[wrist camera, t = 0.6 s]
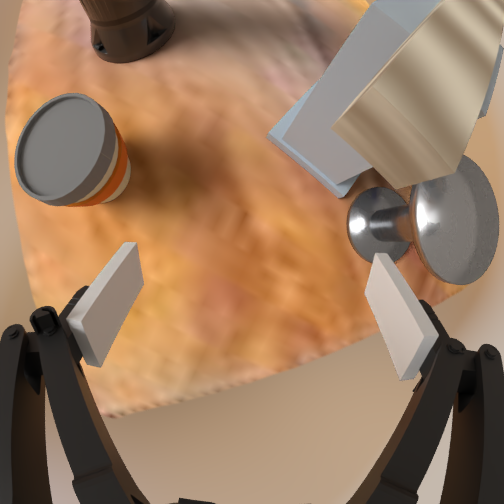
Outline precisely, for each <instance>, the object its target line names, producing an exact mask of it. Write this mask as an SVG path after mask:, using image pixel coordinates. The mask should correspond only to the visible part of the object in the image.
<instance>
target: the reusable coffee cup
mask: <svg viewBox="0 0 504 504" xmlns="http://www.w3.org/2000/svg"><path fill="white" fill-rule="evenodd" d="M15 172H16V177H17V179H18V182H19V184H20V186H21V187H22V189H23V190H24V191H25V192H26V193H27V194H28V195H29V196H31V197H33V198H35V199H37V200H39V201H42V202H44V203H46V204H48V205H53V206H68V207H80V206H93V205H96V204H99V203H106V202H109V201H111V200H113V199H115V198H116V197H118V196H119V195H120V194H121V193H122V192H123V191H124V189H125V188H126V186H127V184H128V182H129V179H130V174H131V165H130V161H129V158H128V156H127V149H126V146H125V143H124V141H123V139H122V137H121V135H120V133H119V131H118V129H117V127H116V126H115V124H114V123H113V120H112V118H111V117H110V115H109V113H108V112H107V111H106V110H105V109H104V108H103V107H102V106H101V105H99V104H98V103H97V102H95V101H94V100H93V99H92V98H90V97H88V96H86V95H83V94H79V93H68V94H64V95H60V96H57V97H55V98H53V99H51V100H49V101H48V102H46V103H45V104H43V105H42V106H41V107H40V108H39V109H38V110H37V111H36V112H35V113H34V114H33V115H32V116H31V118H30V119H29V120H28V122H27V123H26V125H25V127H24V128H23V130H22V132H21V135H20V137H19V140H18V143H17V146H16V151H15Z"/></svg>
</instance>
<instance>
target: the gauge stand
mask: <svg viewBox="0 0 504 504" xmlns="http://www.w3.org/2000/svg"><path fill="white" fill-rule="evenodd" d="M440 1H441V0H376V1H374V2H373V3H372V4H371V5H370V7H369V8H368V9H367V11H366V12H365V14H364V15H363V17H362V18H361V19H360V21H359V22H358V24H357V25H356V27H355V28H354V29H353V31H352V32H351V34H350V35H349V37H348V38H347V40H346V41H345V43H344V44H343V46H342V47H341V48H340V50H339V51H338V53H337V54H336V56H335V57H334V59H333V60H332V62H331V63H330V65H329V66H328V68H327V69H326V71H325V72H324V74H323V75H322V77H321V78H320V80H318V81H317V82H316V83H315V84H314V85H313V86H312V87H311V88H310V89H309V90H308V91H307V92H306V93H305V94H304V95H303V96H302V97H301V98H300V99H299V100H298V101H297V103H296V104H295V105H294V106H293V107H292V108H291V109H290V110H289V111H288V112H287V113H286V114H285V115H284V116H283V117H282V118H281V120H280V121H279V122H278V123H277V124H276V125H275V126H274V127H273V128H272V129H271V130H270V132H269V133H268V134H267V137H266V138H267V139H268V140H270V141H271V142H272V143H273V144H275V145H276V146H277V147H279V148H280V149H281V150H282V151H284V152H285V153H286V154H287V155H288V156H290V157H291V158H292V159H293V160H295V161H296V162H297V163H298V164H299V165H301V166H302V167H303V168H304V169H305V170H307V171H308V172H309V173H310V174H311V175H312V176H314V177H315V178H316V179H317V180H318V181H319V182H321V183H322V184H323V185H324V186H325V187H326V188H327V189H329V190H330V191H331V192H332V193H333V194H334V195H335V196H336V197H337V198H342V197H344V196H345V195H346V193H347V192H348V190H349V189H350V188H351V186H352V185H353V184H354V182H355V181H356V179H357V178H358V177H359V175H360V174H361V172H364V171H366V170H368V169H370V168H372V167H373V166H372V165H370V164H369V163H368V162H367V161H366V160H365V159H364V158H363V157H362V156H361V155H360V154H359V153H358V152H357V151H356V150H354V149H353V148H352V147H351V146H350V145H349V144H348V143H347V142H346V141H344V140H343V139H342V138H341V137H340V136H339V135H338V134H336V133H335V132H334V131H333V130H332V129H331V127H332V125H333V124H334V123H335V122H336V121H337V120H338V118H339V117H340V116H341V115H342V114H343V112H344V111H345V110H346V109H347V108H348V106H349V105H350V104H351V103H352V102H353V101H354V99H355V98H356V97H357V96H358V95H359V93H360V92H361V91H362V90H363V89H364V88H365V86H366V85H367V84H368V83H369V82H370V81H371V79H372V78H373V77H374V76H375V75H376V74H377V72H378V71H379V70H380V69H381V68H382V67H383V65H384V64H385V63H386V62H387V61H388V60H389V58H390V57H391V56H392V55H393V54H394V53H395V52H396V50H397V49H398V48H399V47H400V46H401V45H402V43H403V42H404V41H405V40H406V39H407V38H408V37H409V35H410V34H411V33H412V32H413V31H414V30H415V29H416V28H417V26H418V25H419V24H420V23H421V22H422V21H423V20H424V19H425V17H426V16H427V15H428V14H429V13H430V12H431V11H432V10H433V8H434V7H435V6H436V5H437V4H438V3H439V2H440ZM503 49H504V48H503V47H502V46H501V45H499V50H498V54H497V58H496V62H495V65H494V69H493V73H492V76H491V79H490V83H489V86H488V89H487V92H486V95H485V98H484V101H483V104H482V107H481V110H480V113H479V116H478V118H477V119H479V118H481V117H484V116H486V113H487V110H488V107H489V104H490V100H491V97H492V93H493V90H494V87H495V83H496V79H497V75H498V71H499V67H500V63H501V59H502V54H503Z"/></svg>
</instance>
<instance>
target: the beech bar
mask: <svg viewBox="0 0 504 504" xmlns="http://www.w3.org/2000/svg"><path fill="white" fill-rule="evenodd" d="M503 26H504V0H441V1H440V2H439V3H438V4H437V5H436V6H435V7H434V8H433V10H432V11H431V12H430V13H429V14H428V15H427V16H426V17H425V19H424V20H423V21H422V22H421V23H420V24H419V25H418V26H417V28H416V29H415V30H414V31H413V32H412V33H411V34H410V35H409V37H408V38H407V39H406V40H405V41H404V42H403V43H402V45H401V46H400V47H399V48H398V49H397V50H396V52H395V53H394V54H393V55H392V56H391V57H390V58H389V60H388V61H387V62H386V63H385V64H384V65H383V67H382V68H381V69H380V70H379V71H378V72H377V74H376V75H375V76H374V77H373V78H372V79H371V81H370V82H369V83H368V84H367V85H366V86H365V88H364V89H363V90H362V91H361V92H360V93H359V95H358V96H357V97H356V98H355V99H354V101H353V102H352V103H351V104H350V105H349V106H348V108H347V109H346V110H345V111H344V112H343V114H342V115H341V116H340V117H339V118H338V120H337V121H336V122H335V123H334V124H333V125H332V127H331V129H332V130H333V131H334V132H335V133H336V134H338V135H339V136H340V137H341V138H342V139H343V140H344V141H346V142H347V143H348V144H349V145H350V146H351V147H352V148H353V149H354V150H356V151H357V152H358V153H359V154H360V155H361V156H362V157H363V158H364V159H365V160H366V161H367V162H368V163H369V164H370V165H372V166H373V167H374V168H375V169H376V170H377V171H378V172H379V173H380V174H381V175H382V176H383V177H384V178H385V179H386V180H387V181H388V182H389V183H390V184H391V185H392V186H393V187H394V188H395V190H396V189H400V188H403V187H407V186H410V185H414V184H418V183H421V182H425V181H428V180H432V179H435V178H439V177H442V176H446V175H450V174H453V173H455V171H456V169H457V167H458V165H459V162H460V160H461V158H462V156H463V153H464V151H465V149H466V146H467V144H468V141H469V139H470V136H471V134H472V131H473V129H474V126H475V124H476V121H477V118H478V116H479V113H480V110H481V107H482V104H483V101H484V98H485V95H486V92H487V89H488V86H489V83H490V79H491V76H492V73H493V69H494V65H495V62H496V58H497V54H498V50H499V45H500V41H501V36H502V31H503Z"/></svg>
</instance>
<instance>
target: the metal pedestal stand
mask: <svg viewBox="0 0 504 504" xmlns="http://www.w3.org/2000/svg"><path fill="white" fill-rule="evenodd" d="M347 233H348V237H349V240H350V243H351V245H352V247H353V248H354V250H355V251H356V253H357V254H358V255H359V256H360V257H362V258H363V259H364V260H366V261H368V262H370V263H373V260H374V256H375V253H387V254H388V255H389V257H390V258H391V260H392V261H393V262H395V261H396V260H398V259H399V258H400V257H402V255H403V254H404V253H405V252H406V250H407V249H408V247H409V244H410V242H414V245H415V248H416V250H417V253H418V255H419V257H420V259H421V261H422V262H423V264H424V266H425V267H426V268H427V270H428V271H429V272H430V273H431V274H432V275H433V276H435V277H436V278H437V279H439V280H441V281H443V282H446V283H451V284H456V285H466V284H470V283H472V282H474V281H476V280H477V279H479V278H480V277H481V276H482V275H483V274H484V272H485V271H486V270H487V269H488V267H489V265H490V264H491V261H492V259H493V257H494V254H495V251H496V247H497V242H498V236H499V215H498V208H497V203H496V199H495V196H494V193H493V190H492V187H491V185H490V183H489V181H488V179H487V177H486V176H485V174H484V173H483V171H482V170H481V169H480V167H479V166H478V165H477V164H476V163H475V162H473V161H472V160H471V159H470V158H468V157H467V156H465V155H463V156H462V158H461V160H460V162H459V165H458V167H457V169H456V171H455V173H453V174H450V175H446V176H442V177H439V178H435V179H432V180H428V181H425V182H421V183H418V184H414V185H413V186H412V190H411V195H410V203H409V204H406V203H405V201H404V200H403V199H402V198H401V197H400V196H399V195H398V194H397V193H396V192H394V191H392V190H390V189H388V188H383V187H375V188H371V189H368V190H366V191H363V192H362V193H360V194H359V195H358V196H357V197H356V198H355V199H354V201H353V202H352V204H351V206H350V208H349V211H348V215H347Z"/></svg>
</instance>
